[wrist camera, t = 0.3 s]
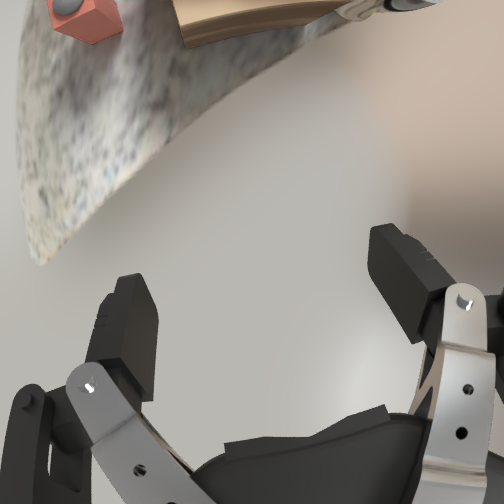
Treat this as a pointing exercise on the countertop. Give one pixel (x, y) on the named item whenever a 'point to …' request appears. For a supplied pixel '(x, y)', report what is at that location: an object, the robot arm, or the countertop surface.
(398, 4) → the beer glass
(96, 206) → the countertop surface
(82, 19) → the spice tin
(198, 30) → the slot box
